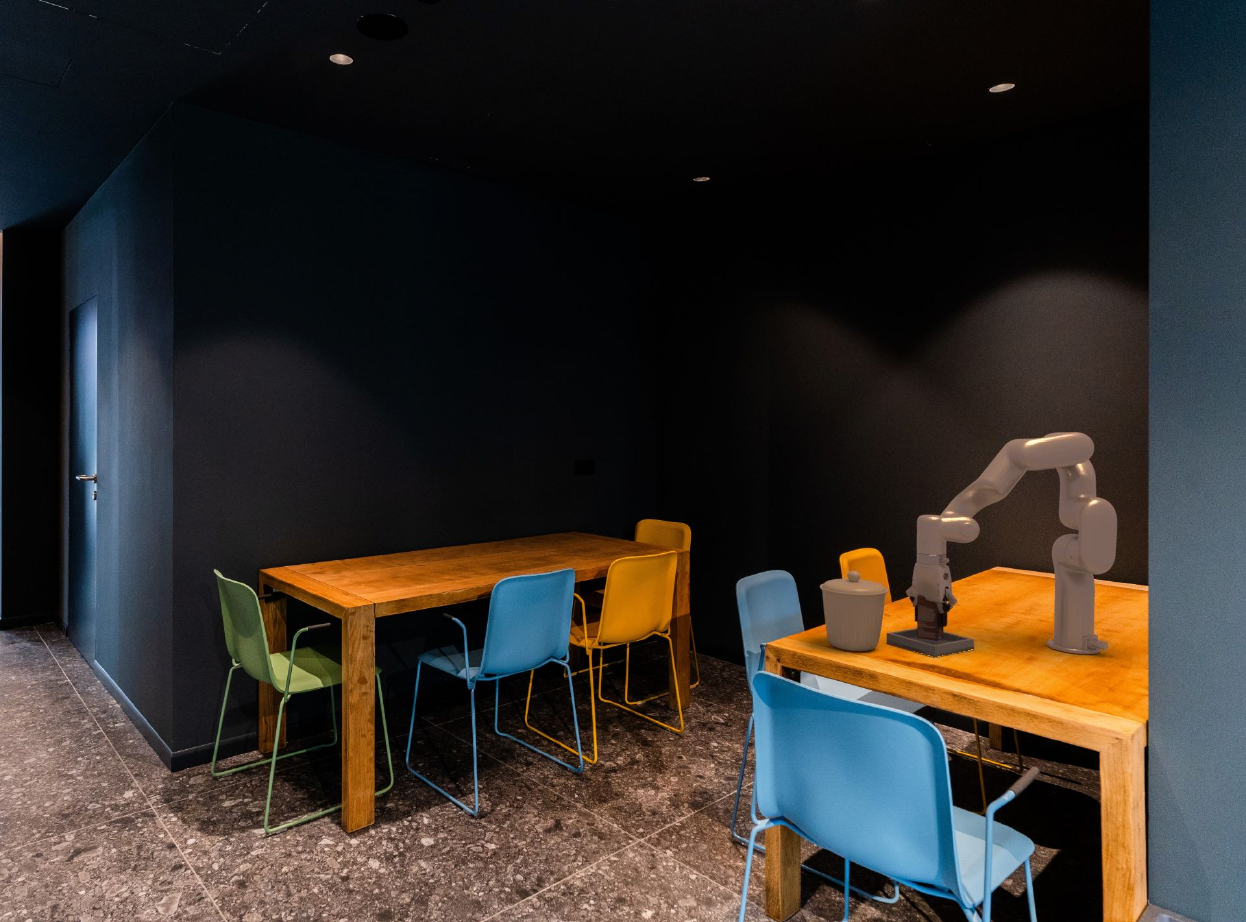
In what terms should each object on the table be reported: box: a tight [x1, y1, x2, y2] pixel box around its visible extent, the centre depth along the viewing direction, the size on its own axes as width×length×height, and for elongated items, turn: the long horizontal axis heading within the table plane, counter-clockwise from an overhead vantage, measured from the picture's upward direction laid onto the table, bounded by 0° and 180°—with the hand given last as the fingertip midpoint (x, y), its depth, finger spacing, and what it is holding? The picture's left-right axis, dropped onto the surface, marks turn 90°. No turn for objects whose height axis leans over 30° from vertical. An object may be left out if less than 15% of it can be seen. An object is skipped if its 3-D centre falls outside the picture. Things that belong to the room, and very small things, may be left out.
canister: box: [819, 570, 889, 652], centre depth 209 cm, size 18×18×21 cm
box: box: [916, 595, 945, 641], centre depth 209 cm, size 6×4×12 cm
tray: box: [886, 627, 975, 658], centre depth 209 cm, size 16×16×3 cm
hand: (930, 623), depth 209 cm, fingers closed on box, 6 cm apart
